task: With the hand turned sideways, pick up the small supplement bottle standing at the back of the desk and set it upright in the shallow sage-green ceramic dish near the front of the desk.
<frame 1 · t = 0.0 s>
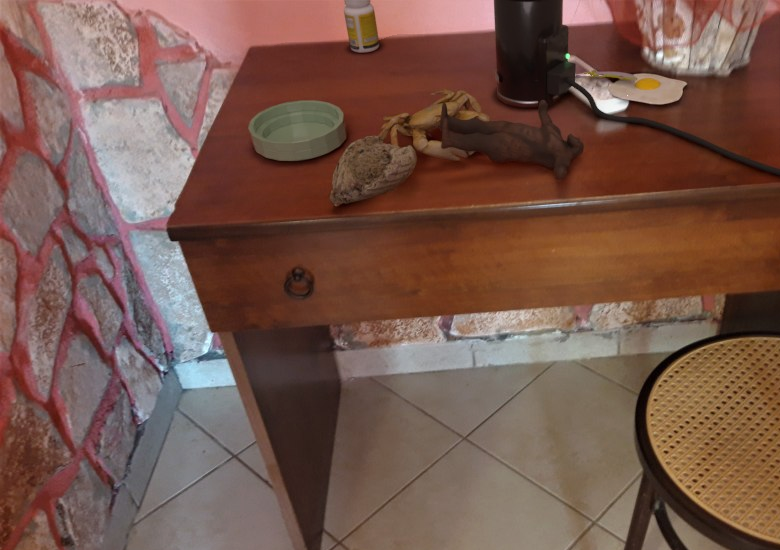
cracked egg: (648, 89, 111), on the table, touching decorative knife
seashell: (347, 183, 94), on the table
supplement bottle: (365, 49, 126), on the table
dish: (301, 141, 102), on the table
crab model: (423, 149, 104), on the table, touching figurine
decorative knife: (610, 71, 115), point 1 cm above the table, touching cracked egg
figurine: (438, 129, 92), point 5 cm above the table, touching crab model
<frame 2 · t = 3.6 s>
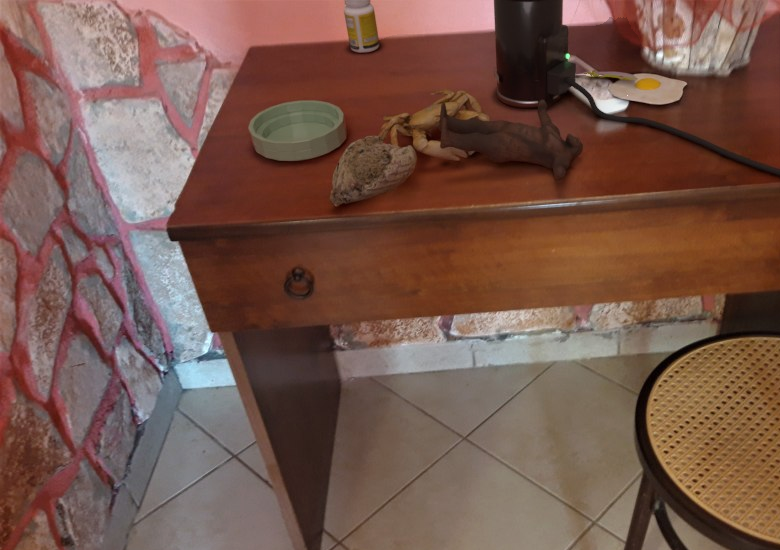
nothing on the table moved.
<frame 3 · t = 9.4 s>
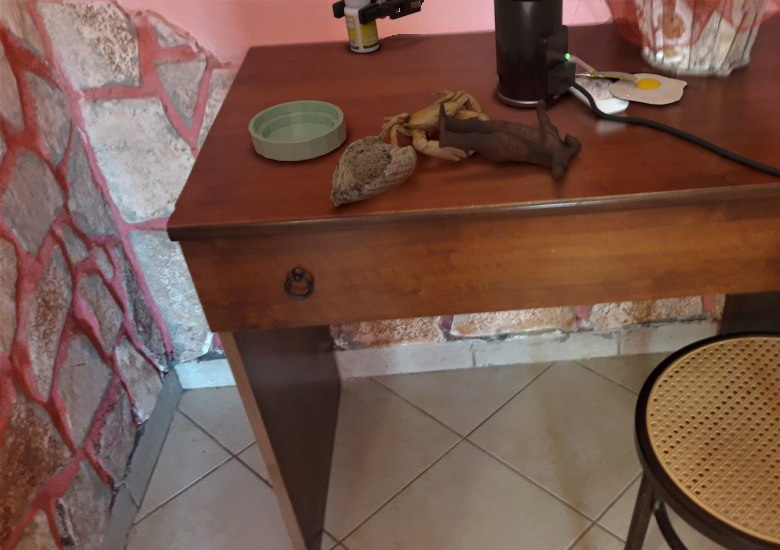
hand: (347, 14, 120), 6 cm above the table, tool horizontal, fingers closed on supplement bottle, 4 cm apart
supplement bottle: (365, 49, 126), on the table, touching gripper
everything else where it was.
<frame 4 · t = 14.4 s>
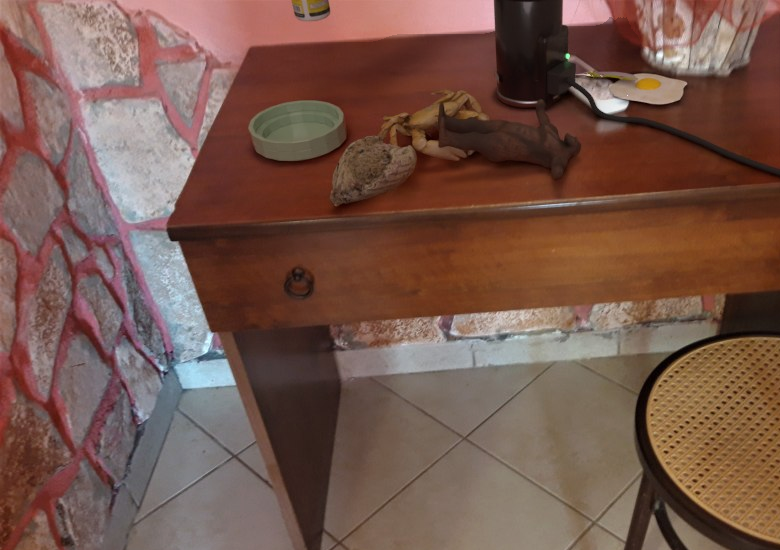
supplement bottle: (313, 17, 104), point 12 cm above the table, touching gripper
everything else where it was.
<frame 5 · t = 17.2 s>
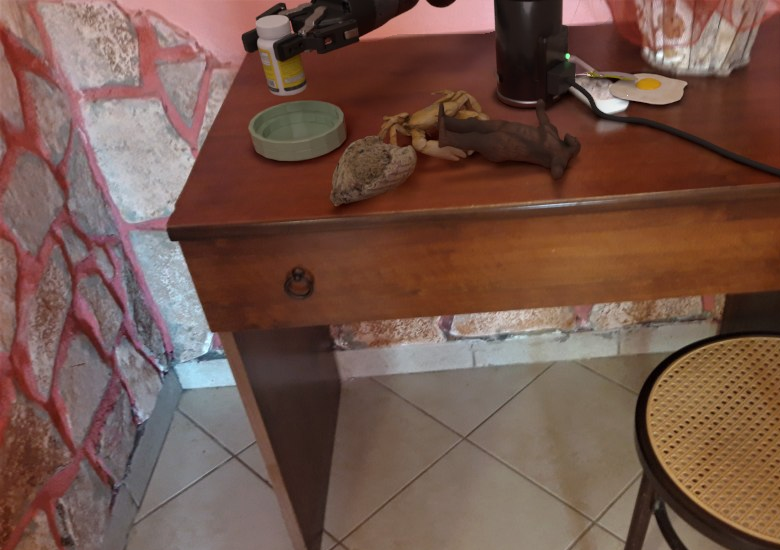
hand: (260, 48, 92), 13 cm above the table, tool horizontal, fingers closed on supplement bottle, 4 cm apart
supplement bottle: (288, 90, 98), point 7 cm above the table, touching gripper
everything else where it was.
when the fingers open (7 cm above the table, at t = 19.5 s): supplement bottle stays where it is, resting on dish.
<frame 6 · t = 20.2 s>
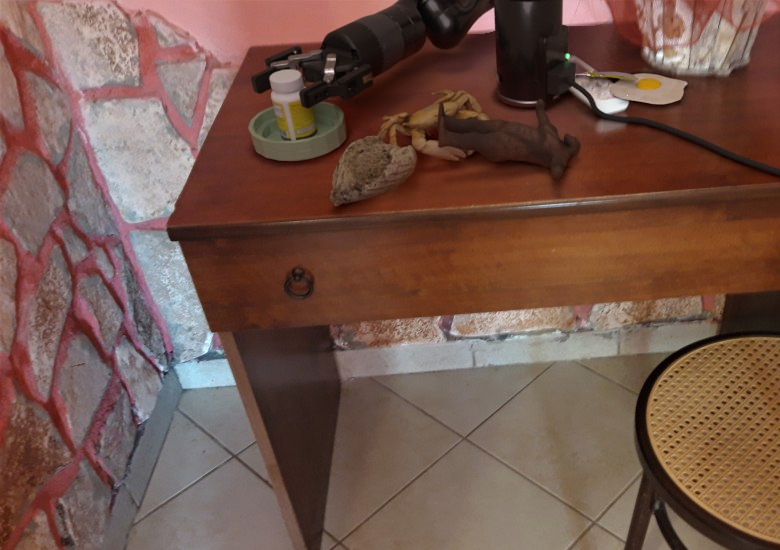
hand: (277, 93, 96), 7 cm above the table, tool horizontal, fingers open, 8 cm apart
supplement bottle: (300, 139, 102), resting on dish
everything else where it was.
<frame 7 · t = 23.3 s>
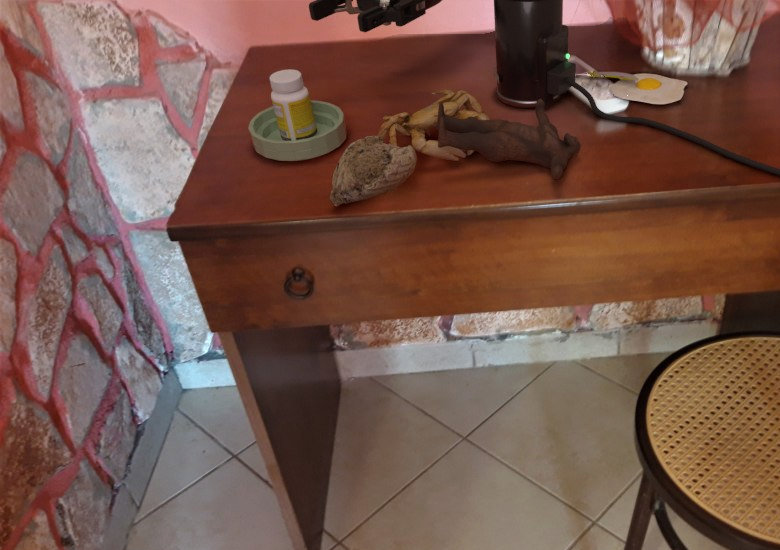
hand: (335, 18, 100), 13 cm above the table, tool horizontal, fingers open, 8 cm apart
nothing on the table moved.
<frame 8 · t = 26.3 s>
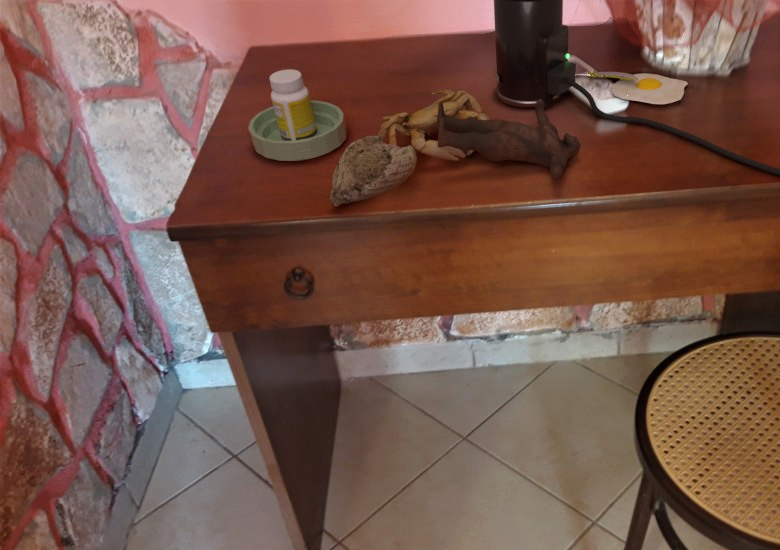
nothing on the table moved.
at the end: supplement bottle 0.1 cm off-centre in the dish, point 0.3 cm above the dish's base; supplement bottle tilted 0°; the gripper is holding nothing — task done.
